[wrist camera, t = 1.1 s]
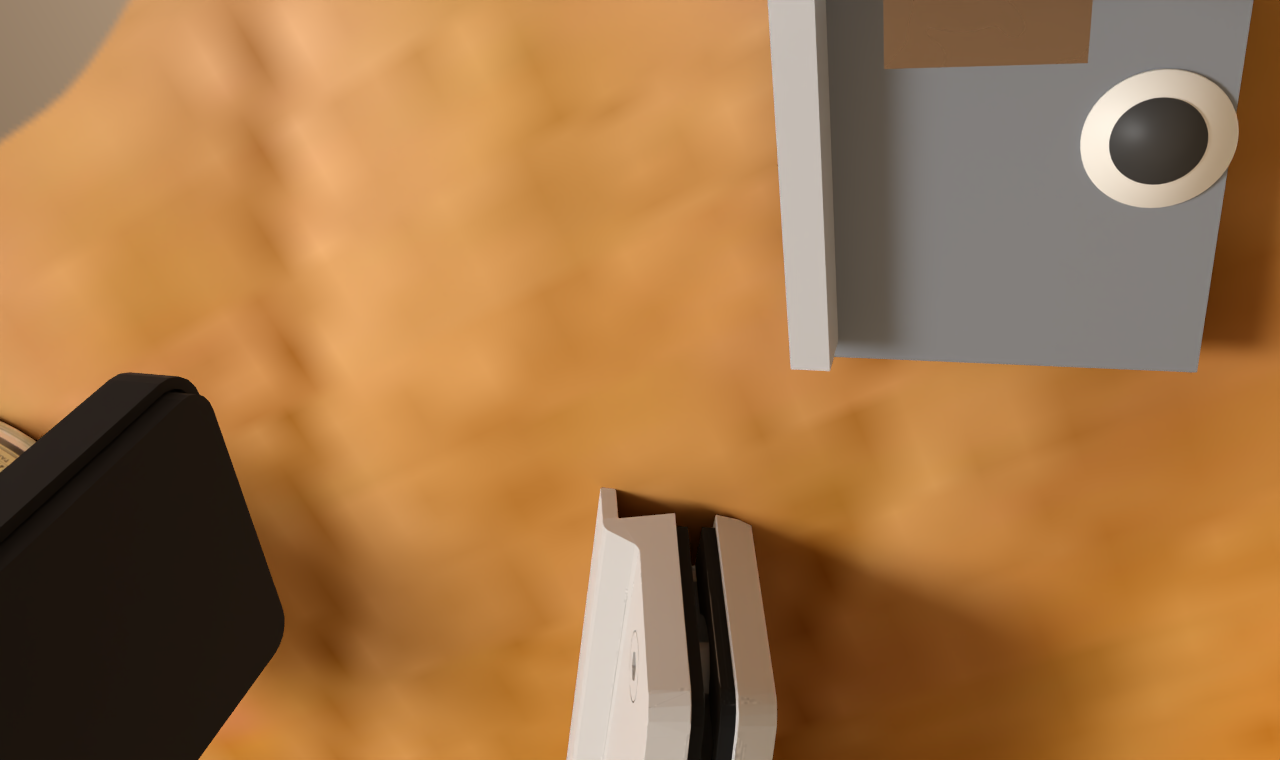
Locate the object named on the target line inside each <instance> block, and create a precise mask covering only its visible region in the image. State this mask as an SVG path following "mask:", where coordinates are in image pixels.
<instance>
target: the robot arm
mask: <svg viewBox="0 0 1280 760" xmlns="http://www.w3.org/2000/svg"><path fill="white" fill-rule="evenodd" d="M283 632H284V613H283V608H282V606H281V603H280V600H279V597H278V594H277V591H276V588H275V585H274V583H273V580H272V577H271V574H270V571H269V568H268V565H267V563H266V560H265V557H264V554H263V551H262V548H261V545H260V542H259V540H258V537H257V534H256V531H255V528H254V525H253V522H252V519H251V517H250V514H249V511H248V508H247V505H246V502H245V499H244V496H243V494H242V491H241V488H240V485H239V482H238V479H237V476H236V474H235V471H234V468H233V465H232V462H231V459H230V456H229V453H228V451H227V448H226V445H225V442H224V439H223V436H222V433H221V430H220V428H219V425H218V422H217V419H216V416H215V413H214V410H213V408H212V406H211V404H210V402H209V401H208V400H207V399H206V398H205V397H204V396H201V395H199V393H198V391H197V389H196V387H195V386H194V385H193V384H192V383H191V382H190V381H189V380H187V379H184V378H181V377H177V376H165V375H154V374H142V373H122V374H118V375H117V376H115V377H113V378H112V379H110V380H109V381H107V382H106V383H105V384H104V385H103V386H102V387H100V388H99V389H98V390H97V391H96V392H94V393H93V394H92V395H91V396H90V397H89V398H87V399H86V400H85V401H84V402H83V403H81V404H80V405H79V406H78V407H77V408H76V409H74V410H73V411H72V412H71V413H70V414H69V415H67V416H66V417H65V418H64V419H63V420H61V421H60V422H59V423H58V424H57V425H56V426H54V427H53V428H52V429H51V430H50V431H48V432H47V433H46V434H45V435H44V436H43V437H41V438H40V439H39V440H38V441H37V442H36V443H34V444H33V445H32V446H31V447H30V448H28V449H27V450H26V451H25V452H24V453H23V454H21V455H20V456H19V457H18V458H17V459H15V460H14V461H13V462H12V463H11V464H10V465H8V466H7V467H6V468H5V469H4V470H2V471H1V472H0V760H198V759H199V758H200V756H201V755H202V754H203V752H204V751H205V750H206V748H207V747H208V745H209V744H210V743H211V741H212V740H213V738H214V737H215V736H216V734H217V733H218V732H219V730H220V729H221V727H222V726H223V725H224V723H225V722H226V720H227V719H228V718H229V716H230V715H231V714H232V712H233V711H234V709H235V708H236V707H237V705H238V704H239V702H240V701H241V700H242V698H243V697H244V696H245V694H246V693H247V691H248V690H249V689H250V687H251V686H252V684H253V683H254V682H255V680H256V679H257V678H258V676H259V675H260V673H261V672H262V671H263V669H264V668H265V666H266V665H267V664H268V662H269V661H270V660H271V658H272V657H273V655H274V654H275V652H276V651H277V649H278V647H279V645H280V642H281V640H282V637H283Z"/></svg>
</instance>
